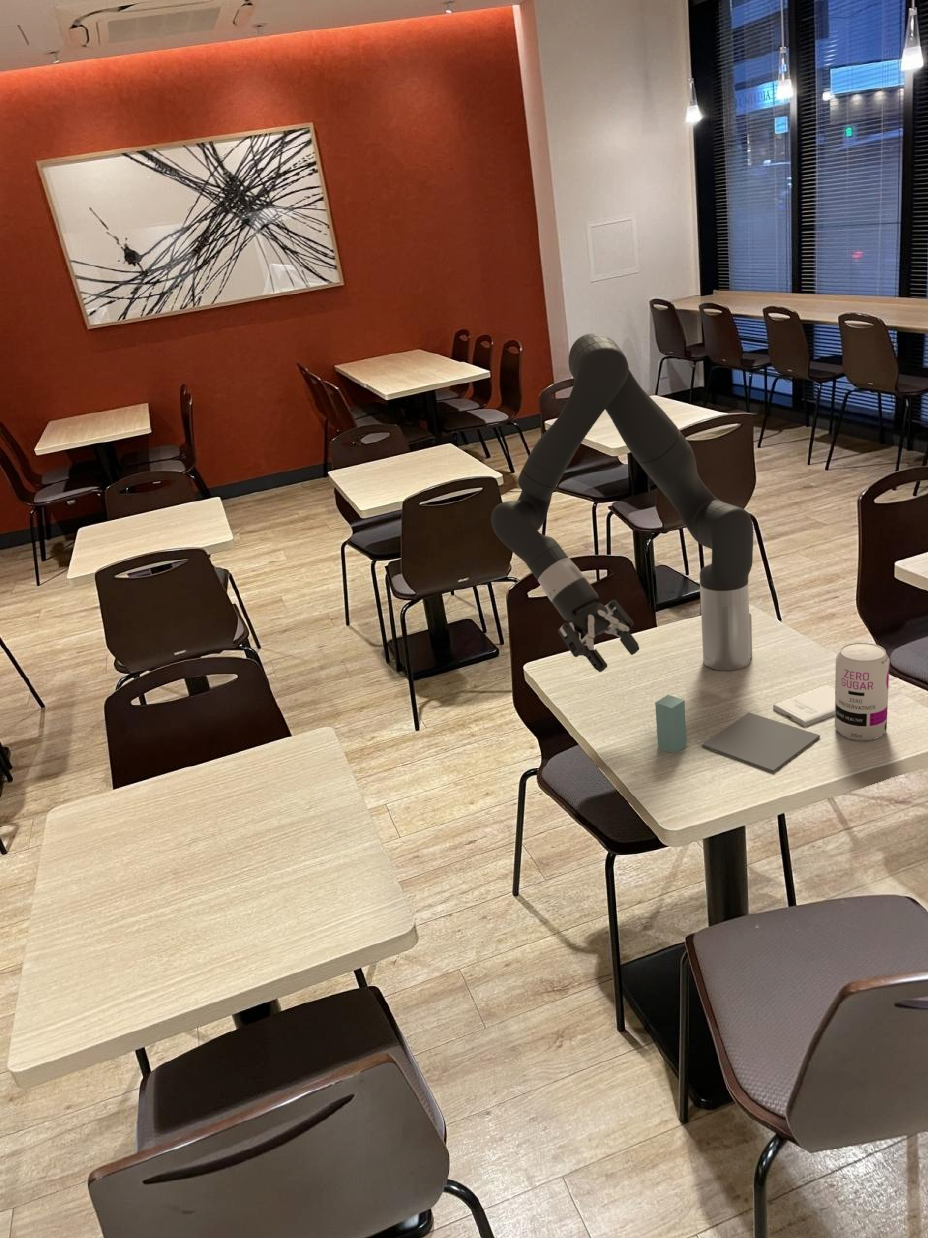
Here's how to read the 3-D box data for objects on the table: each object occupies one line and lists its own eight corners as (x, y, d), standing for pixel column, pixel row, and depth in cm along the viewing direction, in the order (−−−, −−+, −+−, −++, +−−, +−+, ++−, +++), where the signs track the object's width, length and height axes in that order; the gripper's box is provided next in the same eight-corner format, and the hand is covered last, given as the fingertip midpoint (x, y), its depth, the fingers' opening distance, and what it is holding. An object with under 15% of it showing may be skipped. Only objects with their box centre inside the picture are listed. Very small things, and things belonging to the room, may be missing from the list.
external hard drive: (859, 708, 169) (804, 728, 165) (826, 691, 176) (772, 710, 172) (859, 700, 168) (804, 720, 164) (826, 683, 175) (772, 703, 171)
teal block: (670, 739, 166) (668, 694, 163) (686, 745, 164) (684, 700, 160) (658, 747, 164) (655, 702, 161) (674, 754, 162) (671, 708, 159)
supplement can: (877, 717, 164) (880, 639, 159) (893, 741, 157) (896, 659, 151) (829, 720, 165) (830, 643, 160) (842, 744, 158) (843, 663, 152)
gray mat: (748, 714, 171) (748, 712, 171) (819, 737, 160) (820, 735, 160) (701, 746, 163) (701, 744, 163) (773, 772, 153) (773, 770, 152)
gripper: (549, 590, 164) (603, 665, 160) (603, 565, 172) (656, 636, 168) (531, 612, 170) (583, 685, 166) (584, 587, 178) (635, 656, 174)
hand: (620, 660), depth 167 cm, fingers open, 8 cm apart
